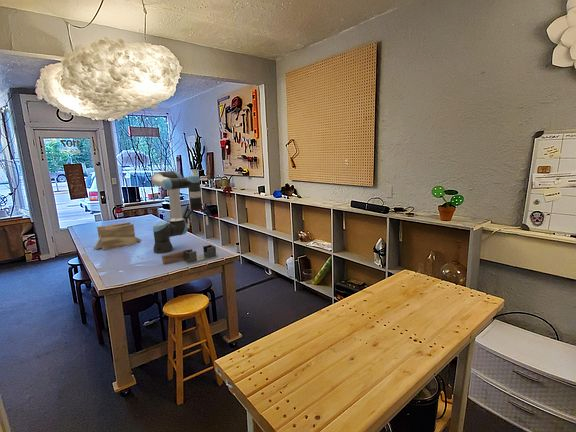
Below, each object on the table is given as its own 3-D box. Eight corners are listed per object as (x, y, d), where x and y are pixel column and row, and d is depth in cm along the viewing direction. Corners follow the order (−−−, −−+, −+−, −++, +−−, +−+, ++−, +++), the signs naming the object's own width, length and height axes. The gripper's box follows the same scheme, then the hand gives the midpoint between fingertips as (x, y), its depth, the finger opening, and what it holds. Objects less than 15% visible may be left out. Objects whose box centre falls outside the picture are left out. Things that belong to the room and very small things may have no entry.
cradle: (100, 246, 271) (97, 226, 267) (132, 240, 287) (129, 222, 283) (103, 250, 260) (99, 229, 256) (136, 243, 276) (133, 224, 273)
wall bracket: (128, 261, 278) (94, 249, 261) (127, 260, 282) (93, 247, 264) (141, 239, 282) (108, 225, 264) (140, 239, 286) (107, 225, 268)
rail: (162, 263, 225) (161, 255, 224) (185, 258, 235) (184, 250, 234) (164, 264, 222) (163, 257, 221) (187, 259, 232) (186, 251, 231)
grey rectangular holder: (183, 260, 228) (182, 250, 227) (211, 253, 243) (210, 244, 241) (188, 264, 221) (187, 253, 219) (217, 256, 235) (216, 246, 233)
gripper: (178, 199, 207) (181, 230, 211) (214, 196, 220) (216, 224, 224) (176, 198, 213) (179, 227, 217) (211, 195, 226) (213, 222, 230)
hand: (198, 226), depth 221 cm, fingers open, 13 cm apart
